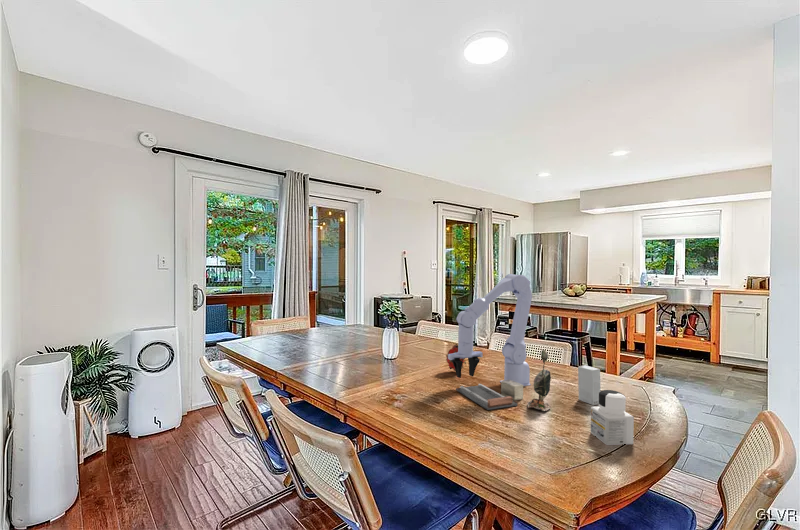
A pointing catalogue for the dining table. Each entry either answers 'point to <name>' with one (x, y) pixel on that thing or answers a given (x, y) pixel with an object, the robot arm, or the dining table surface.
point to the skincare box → (589, 384)
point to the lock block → (512, 389)
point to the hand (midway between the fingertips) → (465, 376)
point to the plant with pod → (541, 386)
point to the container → (612, 419)
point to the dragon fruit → (451, 366)
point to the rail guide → (486, 397)
